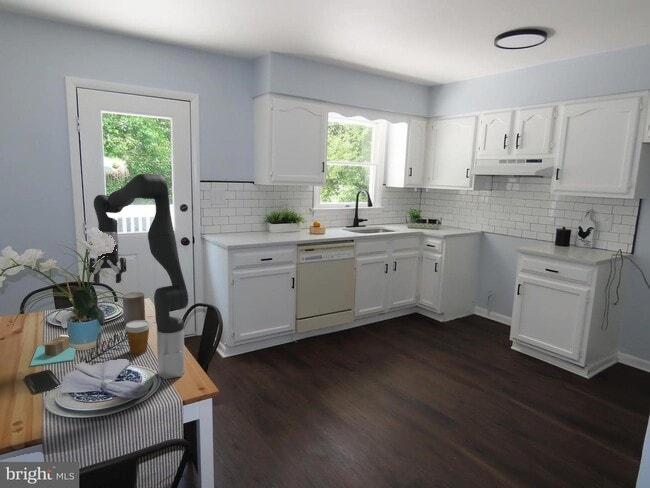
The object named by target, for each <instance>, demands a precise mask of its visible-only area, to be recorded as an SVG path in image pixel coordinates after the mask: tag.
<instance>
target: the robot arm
mask: <svg viewBox="0 0 650 488" xmlns="http://www.w3.org/2000/svg"><path fill="white" fill-rule="evenodd" d="M136 199H144V200H154V203H155V205H154V206H155V215H154V216H153V217H154V218H153V220H152V221H151V223H150V226H149V229H148V233H147V240H148V245H149V250H150V254H151V256H153V258H154V259H155V261H157V262H158V263H159V264H160V266H161V267H162V268H163V269H164V270H165V272H166V273H167V274H168V276H169V278H170V279H169V280H170V283H171V285H167V286H161V287H158V288H156V290H155V292H154V296H153V299H154V300H153V302H154V312H155V323H156V336H157V337H156V342H157V343H156V344H157V345H156V347H157V375H158V376H159V377H161V378H162V379H163V380H167V379H169V380H170V379H174V378H180V377H182V376H183V374H184V373H185V323H184V320H183V319H182V318H180V317H175V316H170V315H171V314H170V312H175V311H181V310H184V309H186V308H187V307H188V306H189V293H188V289H187V285H186V282H185V279H184V275H183V271H182V267H181V263H180V258H179V253H178V252H179V251H178V245H177V240H176V234H175V231H174V226H173V221H172V215H171V207H170V206H171V205H170V194H169V186H168V182H167V179H166V178H165V177H164V175H161V174H157V173H156V174H155V173H153V174H152V173H138V174H137V175H135V176H134V177H133V178H132V179H130V180H129V181H128V182H127V183H126V184H125V185H124V186H122V187H121V188H119V189H117V190H114V191H113V192H111V193H110V194H109V195H107V194H98V195H96V196H95V198H94V199H93V208H94V211H95V212H94V213H95V215H96V218H97V224H98V227H97V228H98V229H99V230H100V231H102V232H103V233H106V234H108V236H109V235H111V236H112V237H113V239H114V240H115V241H114V244H115V242H116V245H115V247H114V250H113V252H112V253H106V254H102V255H101V256H98V255H97V258H95V257H90V258H89V261H88V262H89V265H88V273H90V274H93V282H94V283H95V284H100V282H101V281H100V279H101V277H100V276H101V274H100V273H101V272H102V271H103V269H112V270H113V271H114V272H115V273H116V274H115V283H116V284H120V283H121V282H122V274H123V273H126V272H127V258H126V257H119V237H118V236H119V235H118V224H119V223H118V220H117V219H116V218H112V217H110V216H108V214H117V213H121V212H122V210H123V209H124V208H126V207H128V206H129V205H132V204H133V202H134V201H135V200H136ZM107 213H108V214H107ZM112 237H111V238H112ZM116 249H117V251H116ZM103 256H105V257H104V258H102V257H103ZM107 256H108V257H107ZM101 258H102V259H101ZM99 259H101V261H100V262H99V263H98V262H97V261H98V260H99ZM118 262H119V264H120V266H119V264H118ZM95 263H96V264H97V266H95V268H93V267H92V266H93V265H94V264H95ZM91 272H92V273H91Z"/></svg>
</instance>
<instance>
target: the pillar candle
mask: <svg viewBox="0 0 650 488" xmlns="http://www.w3.org/2000/svg"><path fill="white" fill-rule="evenodd" d="M145 305H146V303H145V293H144V292H142V291H141V292H140V291H133V292H128V293H124V294H123V295H122V309H123V310H122V311H123V312H122V314H123V323H124V325H126V324H127V323H129V322H131V321H136V320H146V308H145Z"/></svg>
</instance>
